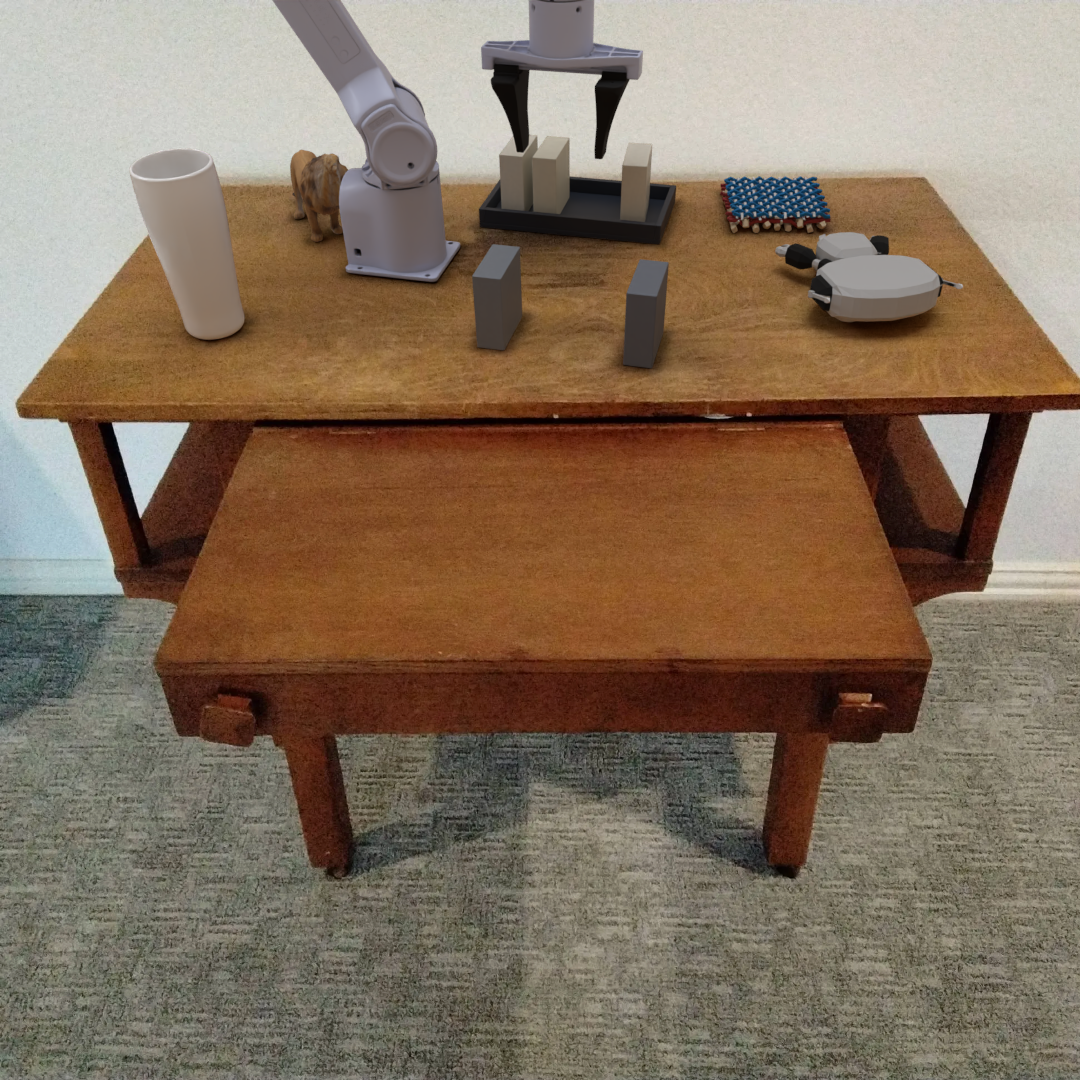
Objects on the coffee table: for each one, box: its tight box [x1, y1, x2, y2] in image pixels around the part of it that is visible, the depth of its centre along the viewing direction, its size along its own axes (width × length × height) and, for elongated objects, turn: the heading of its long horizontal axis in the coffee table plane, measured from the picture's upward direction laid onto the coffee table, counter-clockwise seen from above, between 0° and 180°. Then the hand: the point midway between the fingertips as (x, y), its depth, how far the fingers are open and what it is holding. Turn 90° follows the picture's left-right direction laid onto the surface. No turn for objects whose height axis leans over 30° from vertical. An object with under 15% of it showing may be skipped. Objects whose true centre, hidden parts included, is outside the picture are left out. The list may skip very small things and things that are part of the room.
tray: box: [478, 176, 677, 245], centre depth 104 cm, size 19×10×2 cm, turn 75°
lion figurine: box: [289, 149, 349, 243], centre depth 101 cm, size 15×5×9 cm, turn 33°
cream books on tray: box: [498, 133, 571, 214], centre depth 103 cm, size 6×6×6 cm
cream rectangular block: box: [620, 142, 653, 222], centre depth 101 cm, size 2×6×6 cm, turn 170°
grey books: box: [471, 243, 669, 369], centre depth 83 cm, size 16×6×7 cm, turn 75°
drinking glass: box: [128, 147, 246, 341], centre depth 83 cm, size 7×7×15 cm
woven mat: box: [719, 175, 832, 234], centre depth 103 cm, size 10×11×2 cm
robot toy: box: [774, 231, 964, 323], centre depth 89 cm, size 12×4×15 cm
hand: (561, 152), depth 93 cm, fingers open, 7 cm apart
